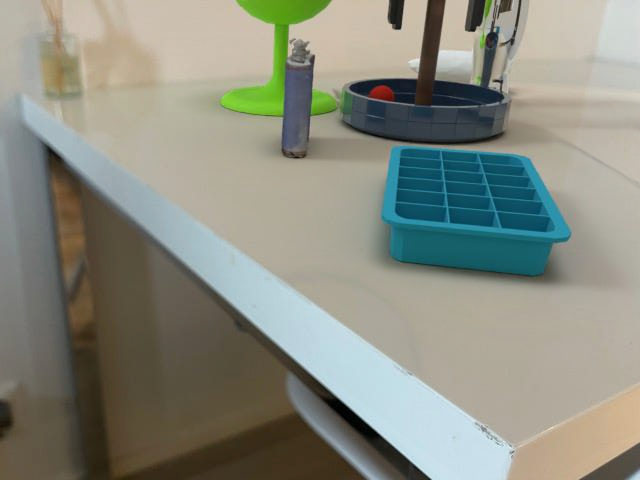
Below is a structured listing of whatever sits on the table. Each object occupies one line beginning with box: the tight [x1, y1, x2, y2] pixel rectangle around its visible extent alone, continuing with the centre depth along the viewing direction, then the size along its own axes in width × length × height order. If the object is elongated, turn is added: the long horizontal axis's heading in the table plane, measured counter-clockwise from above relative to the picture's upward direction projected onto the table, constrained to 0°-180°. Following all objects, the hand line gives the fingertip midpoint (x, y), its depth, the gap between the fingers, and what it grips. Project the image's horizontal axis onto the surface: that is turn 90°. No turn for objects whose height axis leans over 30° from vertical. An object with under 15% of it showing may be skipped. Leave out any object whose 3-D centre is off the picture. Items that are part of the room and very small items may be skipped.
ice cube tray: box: [380, 145, 573, 277], centre depth 50 cm, size 12×20×3 cm, turn 167°
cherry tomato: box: [369, 86, 394, 102], centre depth 84 cm, size 3×3×3 cm
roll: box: [407, 49, 472, 83], centre depth 105 cm, size 6×12×6 cm, turn 74°
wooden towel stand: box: [414, 0, 447, 106], centre depth 78 cm, size 5×5×14 cm
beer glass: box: [469, 0, 531, 94], centre depth 92 cm, size 7×7×15 cm
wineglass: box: [220, 0, 338, 117], centre depth 87 cm, size 16×16×18 cm
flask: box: [281, 37, 316, 159], centre depth 68 cm, size 9×3×11 cm, turn 173°
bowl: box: [339, 77, 513, 144], centre depth 80 cm, size 20×20×4 cm
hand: (433, 30), depth 76 cm, fingers open, 8 cm apart
